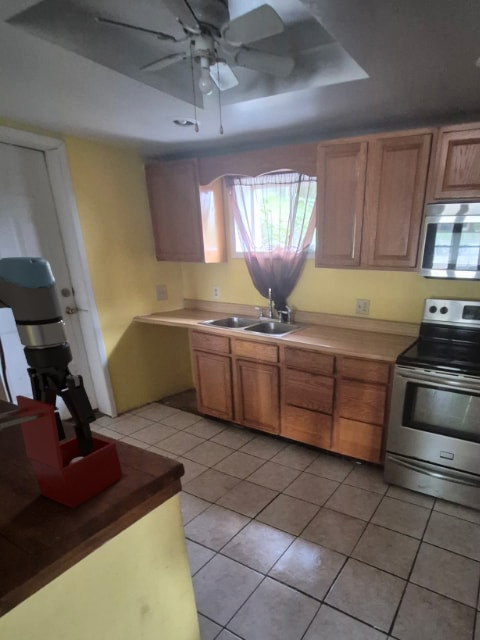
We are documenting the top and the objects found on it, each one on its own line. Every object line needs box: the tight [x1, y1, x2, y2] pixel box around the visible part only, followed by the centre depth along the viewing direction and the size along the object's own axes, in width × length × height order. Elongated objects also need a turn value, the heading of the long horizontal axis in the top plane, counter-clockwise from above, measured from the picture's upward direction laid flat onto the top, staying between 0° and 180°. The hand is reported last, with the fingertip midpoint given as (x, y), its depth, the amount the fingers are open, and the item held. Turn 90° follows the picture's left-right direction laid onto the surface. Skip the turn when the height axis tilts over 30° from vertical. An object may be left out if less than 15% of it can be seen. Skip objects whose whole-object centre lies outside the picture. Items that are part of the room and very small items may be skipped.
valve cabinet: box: [29, 434, 124, 509], centre depth 82 cm, size 12×10×10 cm
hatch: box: [0, 394, 63, 470], centre depth 69 cm, size 13×10×10 cm
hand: (73, 445), depth 80 cm, fingers open, 9 cm apart
